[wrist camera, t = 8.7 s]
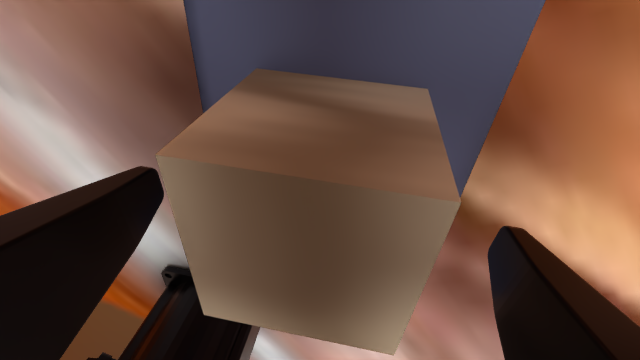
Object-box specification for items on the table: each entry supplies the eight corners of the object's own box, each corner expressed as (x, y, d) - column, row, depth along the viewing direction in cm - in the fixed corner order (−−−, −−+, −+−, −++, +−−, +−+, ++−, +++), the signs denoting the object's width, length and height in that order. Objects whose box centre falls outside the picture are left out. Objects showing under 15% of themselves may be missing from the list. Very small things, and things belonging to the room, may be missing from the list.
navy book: (249, 206, 17) (227, 248, 14) (221, -80, 10) (167, -91, 7) (417, 235, 16) (422, 284, 14) (523, -59, 9) (573, -65, 6)
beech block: (264, 197, 12) (203, 315, 8) (256, 68, 9) (154, 154, 5) (392, 218, 12) (393, 355, 8) (427, 89, 9) (461, 202, 5)
